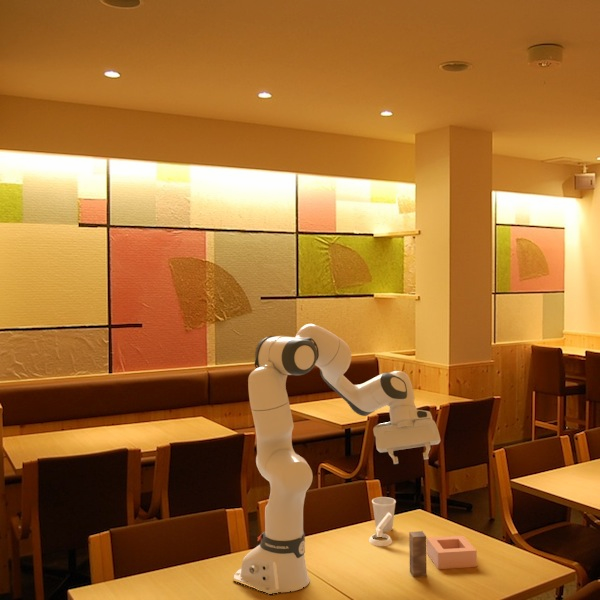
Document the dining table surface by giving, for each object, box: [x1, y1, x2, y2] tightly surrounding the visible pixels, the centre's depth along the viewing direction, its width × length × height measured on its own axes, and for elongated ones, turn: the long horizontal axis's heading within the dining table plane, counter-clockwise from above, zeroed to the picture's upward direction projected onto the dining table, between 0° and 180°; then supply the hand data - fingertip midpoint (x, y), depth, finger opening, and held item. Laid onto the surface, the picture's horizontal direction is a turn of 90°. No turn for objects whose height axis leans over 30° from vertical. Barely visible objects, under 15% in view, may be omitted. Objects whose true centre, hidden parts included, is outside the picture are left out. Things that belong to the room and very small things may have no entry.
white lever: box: [368, 513, 393, 547], centre depth 233 cm, size 8×12×7 cm
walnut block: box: [408, 530, 427, 578], centre depth 208 cm, size 4×4×12 cm
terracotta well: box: [426, 535, 478, 570], centre depth 218 cm, size 12×12×5 cm
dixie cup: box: [371, 496, 397, 533], centre depth 244 cm, size 8×8×10 cm
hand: (411, 461), depth 217 cm, fingers open, 8 cm apart
